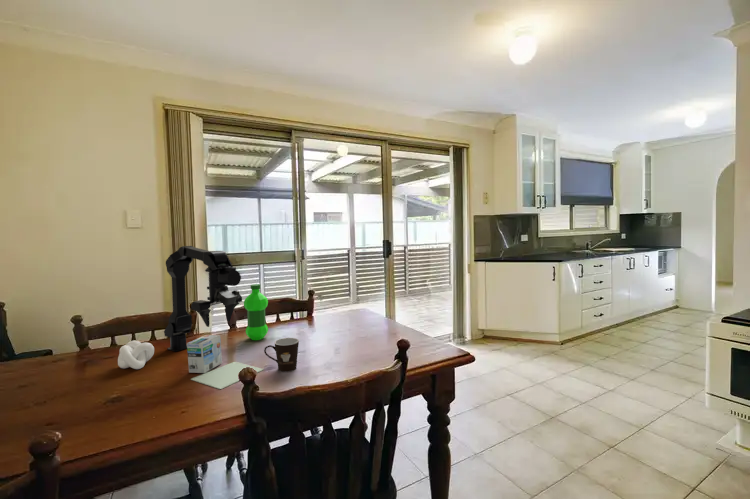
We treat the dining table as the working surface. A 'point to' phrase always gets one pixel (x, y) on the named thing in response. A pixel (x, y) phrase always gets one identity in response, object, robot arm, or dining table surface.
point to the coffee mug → (285, 353)
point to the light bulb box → (204, 353)
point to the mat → (223, 375)
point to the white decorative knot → (135, 354)
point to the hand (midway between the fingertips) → (218, 323)
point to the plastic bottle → (256, 313)
